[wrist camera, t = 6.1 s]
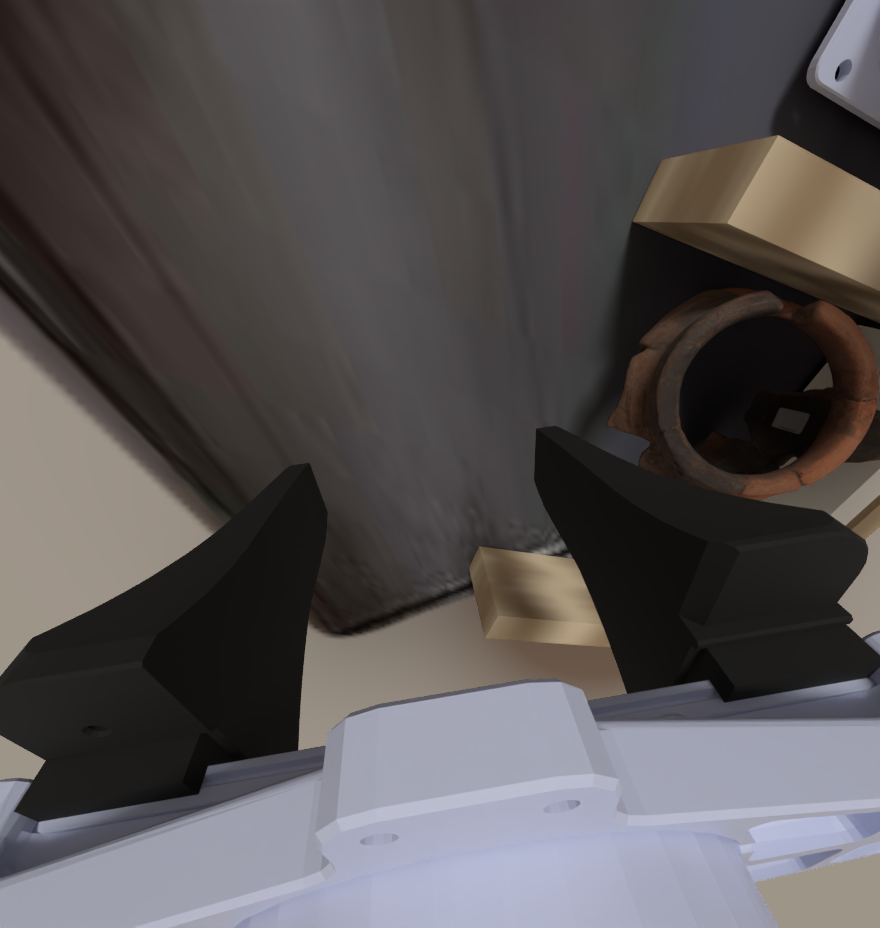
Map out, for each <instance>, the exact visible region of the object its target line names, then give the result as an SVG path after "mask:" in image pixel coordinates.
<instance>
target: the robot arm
mask: <svg viewBox="0 0 880 928" xmlns="http://www.w3.org/2000/svg"><path fill="white" fill-rule="evenodd" d="M838 66H839V67H840V71H839V75H838V77H837V79H836V80H835V72H836V70H837V67H838ZM806 78H807V84H808V85H809V86H810V88H812V89H814V90H815V91H817V92H819V93H820V94H822V95H824V96H825V97H827V98H829V99H830V100H832V101H834V102H835V103H837V104H838V105H840V106H842V107H843V108H845V109H847V110H848V111H850V112H852V113H853V114H855V115H857V116H858V117H860V118H862V119H863V120H865V121H867V122H868V123H870V124H872V125H873V126H875V127H877V128H878V129H880V0H846V1H845V3H844V5H843V7H842V8H841V10H840V12H839V14H838V15H837V17H836V19H835V21H834V22H833V24H832V26H831V28H830V29H829V31H828V33H827V35H826V36H825V38H824V40H823V42H822V43H821V45H820V47H819V49H818V50H817V52H816V54H815V56H814V57H813V59H812V61H811V63H810V65H809V68H808V71H807V76H806ZM534 481H535V484H536V487H537V489H538V492H539V495H540V497H541V500H542V502H543V505H544V507H545V509H546V511H547V512H548V514H549V516H550V518H551V520H552V521H553V523H554V525H555V527H556V529H557V530H558V532H559V534H560V536H561V537H562V539H563V541H564V543H565V544H566V546H567V548H568V550H569V552H570V553H571V555H572V557H573V559H574V560H575V562H576V564H577V566H578V568H579V570H580V572H581V575H582V577H583V579H584V582H585V584H586V586H587V589H588V591H589V593H590V596H591V598H592V600H593V603H594V605H595V608H596V610H597V613H598V615H599V618H600V620H601V623H602V625H603V628H604V630H605V633H606V636H607V639H608V641H609V644H610V647H611V649H612V652H613V654H614V657H615V660H616V663H617V665H618V668H619V671H620V674H621V677H622V680H623V683H624V685H625V689H626V691H627V694H623V695H619V696H612V697H606V698H600V699H594V700H589V701H587V700H586V697H585V695H584V693H583V690H582V689H580V688H578V687H576V686H574V685H571V684H568V683H565V682H563V681H560V680H557V679H555V678H554V679H553V678H552V679H525V680H519V681H513V682H507V683H501V684H496V685H490V686H484V687H478V688H472V689H466V690H461V691H454V692H448V693H443V694H436V695H430V696H425V697H419V698H413V699H407V700H401V701H395V702H389V703H383V704H378V705H375V706H372V707H369V708H366V709H362V710H360V711H356V712H353V713H350V714H349V715H348V716H347V717H346V718H344V719H343V720H342V721H341V722H340V723H338V724H337V725H336V726H335V727H334V728H333V729H332V730H331V731H329V732H328V734H327V740H326V746H321V747H315V748H310V749H304V750H298V741H299V718H300V702H301V688H302V687H301V686H302V675H303V664H304V653H305V644H306V635H307V627H308V618H309V612H310V607H311V601H312V597H313V593H314V588H315V584H316V580H317V575H318V571H319V567H320V563H321V558H322V554H323V549H324V545H325V540H326V529H327V514H328V512H327V509H326V507H325V504H324V501H323V499H322V496H321V493H320V490H319V488H318V485H317V482H316V479H315V477H314V474H313V471H312V469H311V466H310V463H305V464H298V465H292V466H289V467H288V468H287V469H285V470H284V471H283V472H282V473H281V474H280V475H279V476H278V477H277V478H276V479H274V480H273V481H272V482H271V483H270V484H269V485H268V486H267V487H266V488H265V489H264V490H263V491H262V492H261V493H260V494H259V495H258V496H257V497H256V498H255V499H254V500H252V501H251V502H250V503H249V504H248V505H247V506H246V507H245V508H244V509H243V510H241V511H240V512H239V513H238V514H237V515H236V516H234V517H233V518H232V519H231V520H230V521H229V522H228V523H226V524H225V525H224V526H223V527H222V528H221V529H219V530H218V531H217V532H216V533H214V534H213V535H212V536H210V537H209V538H208V539H207V540H205V541H204V542H202V543H201V544H200V545H198V546H197V547H196V548H194V549H193V550H192V551H190V552H189V553H187V554H186V555H184V556H183V557H181V558H180V559H178V560H177V561H175V562H173V563H172V564H170V565H169V566H167V567H166V568H164V569H163V570H161V571H159V572H158V573H156V574H155V575H153V576H152V577H150V578H149V579H147V580H145V581H143V582H141V583H140V584H138V585H136V586H135V587H133V588H131V589H129V590H127V591H126V592H124V593H122V594H120V595H118V596H117V597H115V598H113V599H111V600H109V601H107V602H105V603H103V604H102V605H100V606H98V607H96V608H94V609H92V610H90V611H88V612H86V613H84V614H82V615H79V616H77V617H75V618H73V619H71V620H69V621H67V622H65V623H63V624H61V625H59V626H57V627H55V628H52V629H51V630H49V631H46V632H44V633H42V634H40V635H38V636H35V637H33V638H32V639H31V640H30V641H29V642H28V644H27V645H26V646H25V647H24V649H23V650H22V651H21V652H20V653H19V654H18V656H17V657H16V658H15V659H14V661H13V662H12V663H11V664H10V665H9V666H8V668H7V669H6V670H5V671H4V673H3V674H2V675H1V676H0V735H1V736H3V737H5V738H6V739H8V740H10V741H12V742H14V743H15V744H17V745H19V746H21V747H23V748H24V749H26V750H28V751H30V752H32V753H34V754H35V755H37V756H39V757H41V758H43V759H44V760H46V761H45V763H44V764H43V766H42V768H41V769H40V771H39V772H38V774H37V775H36V777H35V779H34V780H31V779H24V778H11V779H4V780H0V928H779V927H778V925H777V923H776V921H775V919H774V918H773V916H772V914H771V912H770V910H769V908H768V906H767V905H766V903H765V901H764V900H763V897H762V896H761V894H760V892H759V890H758V888H757V886H756V884H755V883H756V882H760V881H764V880H769V879H773V878H777V877H782V876H786V875H790V874H794V873H799V872H802V871H807V870H811V869H816V868H820V867H824V866H828V865H832V864H837V863H841V862H845V861H850V860H854V859H858V858H863V857H867V856H871V855H876V854H880V631H876V632H873V633H871V634H869V635H867V636H865V637H863V638H860V637H859V636H858V635H857V634H856V633H855V632H854V631H853V630H852V629H850V628H849V627H848V626H847V625H846V624H850V623H851V622H852V620H853V618H852V615H851V614H850V613H849V612H847V611H846V610H845V609H844V608H843V607H842V606H841V605H839V604H838V603H837V602H838V601H839V599H840V598H841V597H842V596H843V594H844V593H845V592H846V590H847V589H848V588H849V586H850V585H851V584H852V583H853V581H854V580H855V579H856V577H857V576H858V575H859V573H860V572H861V570H862V568H863V567H864V565H865V563H866V560H867V555H868V547H867V544H866V541H865V539H863V538H862V537H860V536H859V535H858V534H856V533H855V532H853V531H852V530H851V529H849V528H848V527H846V526H845V525H843V524H842V523H841V522H839V521H838V520H836V519H835V518H834V517H832V516H831V515H829V514H828V513H826V512H825V511H822V510H816V509H809V508H803V507H796V506H789V505H783V504H776V503H770V502H764V501H759V500H754V499H749V498H744V497H739V496H734V495H730V494H725V493H721V492H717V491H713V490H709V489H705V488H702V487H698V486H695V485H691V484H687V483H684V482H681V481H678V480H674V479H671V478H668V477H666V476H663V475H660V474H657V473H654V472H652V471H649V470H646V469H644V468H641V467H639V466H636V465H634V464H632V463H629V462H627V461H625V460H623V459H620V458H618V457H616V456H614V455H612V454H610V453H608V452H606V451H604V450H602V449H600V448H598V447H596V446H594V445H592V444H590V443H588V442H586V441H584V440H582V439H581V438H579V437H577V436H575V435H573V434H571V433H569V432H567V431H565V430H563V429H561V428H559V427H557V426H551V427H544V428H538V429H536V447H535V474H534Z"/></svg>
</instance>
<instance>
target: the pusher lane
mask: <svg viewBox="0 0 880 928" xmlns="http://www.w3.org/2000/svg"><path fill="white" fill-rule="evenodd" d="M633 222H634V223H637V224H639V225H642V226H644V227H646V228H649V229H651V230H654V231H656V232H659V233H661V234H663V235H666V236H668V237H671V238H673V239H676V240H678V241H680V242H683V243H685V244H688V245H690V246H693V247H695V248H697V249H700V250H702V251H705V252H707V253H710V254H712V255H714V256H717V257H719V258H722V259H724V260H727V261H729V262H732V263H734V264H736V265H739V266H741V267H744V268H746V269H749V270H751V271H753V272H756V273H758V274H761V275H763V276H766V277H768V278H770V279H773V280H775V281H778V282H780V283H783V284H785V285H787V286H790V287H792V288H795V289H797V290H800V291H802V292H804V293H807V294H809V295H812V296H814V297H817V298H819V299H821V300H824V301H826V302H829V303H831V304H834V305H836V306H838V307H841V308H843V309H846V310H848V311H851V312H853V313H855V314H858V315H860V316H863V317H865V318H868V319H870V320H873V321H875V322H877V323H880V190H878V189H877V188H875V187H873V186H871V185H869V184H867V183H866V182H864V181H862V180H860V179H858V178H856V177H855V176H853V175H851V174H849V173H847V172H845V171H844V170H842V169H840V168H838V167H836V166H834V165H832V164H831V163H829V162H827V161H825V160H823V159H821V158H820V157H818V156H816V155H814V154H812V153H810V152H809V151H807V150H805V149H803V148H801V147H799V146H798V145H796V144H794V143H792V142H790V141H788V140H786V139H785V138H783V137H781V136H779V135H777V136H772V137H767V138H763V139H758V140H753V141H748V142H744V143H739V144H734V145H730V146H725V147H720V148H715V149H711V150H706V151H701V152H696V153H692V154H687V155H682V156H678V157H673V158H668V159H663V160H661V162H660V164H659V167H658V169H657V171H656V173H655V175H654V177H653V179H652V181H651V183H650V186H649V188H648V190H647V192H646V194H645V196H644V198H643V200H642V203H641V205H640V207H639V209H638V211H637V213H636V215H635V217H634V219H633ZM846 527H848V528H849V529H851V530H852V531H853V532H855V533H856V534H858V535H859V536H860V537H862V538H863V539H866V538H867V537H868V536H869V535H871V534H872V533H873V532H874V531H875V530H877V528H879V527H880V495H879V496H878V497H877V498H875V499H874V500H873V501H872V502H871V503H870V504H869V505H868V506H867V507H866V508H864V509H863V510H862V511H861V512H860V513H859V514H858V515H857V516H856V517H854V518H853V519H852V520H851V521H850V522H849V523H848V524H847V525H846ZM469 571H470V575H471V579H472V584H473V588H474V592H475V597H476V601H477V605H478V610H479V614H480V618H481V623H482V627H483V632H484V636H485V638H489V639H502V640H516V641H531V642H544V643H558V644H572V645H586V646H600V647H610V644H609V641H608V639H607V636H606V633H605V630H604V628H603V625H602V623H601V620H600V618H599V615H598V613H597V610H596V608H595V605H594V603H593V600H592V598H591V596H590V593H589V591H588V589H587V586H586V584H585V582H584V579H583V577H582V575H581V572H580V570H579V568H578V566H577V564H576V562H575V560H574V559H569V558H562V557H555V556H547V555H540V554H533V553H525V552H518V551H511V550H503V549H496V548H489V547H481V546H479V547H478V550H477V552H476V554H475V556H474V558H473V560H472V562H471V564H470V566H469Z"/></svg>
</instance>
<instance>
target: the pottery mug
mask: <svg viewBox="0 0 880 928" xmlns="http://www.w3.org/2000/svg"><path fill="white" fill-rule="evenodd" d="M767 316H774V317H778V318H781V319H784V320H786V321H787V322H789V323H791V324H792V325H794V326H796V327H798V328H799V329H801V330H802V331H804V332H805V333H806V334H807V335H808V336H810V337H811V338H812V339H813V340H814V341H815V342H816V344H817V345H818V346H819V347H820V349H821V350H822V352H823V354H824V356H825V358H826V360H827V363H828V365H829V368H830V371H831V374H832V380H833V387H827V388H825V389H811V390H807V391H803V392H788V391H783V390H779V391H776V392H772V391H766V390H762V391H760V392H758V393H757V394H756V396H755V397H754V400H753V403H752V405H751V407H750V408H749V410H748V411H747V412H746V414H745V415H744V420H745V422H746V423H747V425H748V431H749V434H750V436H751V439H752V442H746V441H743V440H740V439H737V438H727V437H725V436H723V435H721V434H718V433H711V434H710V435H709V437H708V438H707V439H706V441H705V443H704V444H703V445H702V447H700V448H699V450H698V451H697V452H696V451H695V450H694V449H693V447H692V446H691V444H690V443H689V441H688V440H687V438H686V436H685V434H684V432H683V431H682V429H681V426H680V425H681V422H680V416H679V396H680V389H681V384H682V381H683V377H684V374H685V372H686V370H687V368H688V366H689V365H690V363H691V361H692V359H693V358H694V357H695V355H696V354H697V353H698V351H699V350H700V349H701V348H702V347H703V346H704V345H705V344H706V343H707V342H708V341H709V340H710V339H711V338H712V337H714V336H715V335H716V334H718V333H719V332H721V331H722V330H724V329H725V328H727V327H729V326H731V325H733V324H736V323H738V322H741V321H744V320H748V319H754V318H761V317H767ZM639 348H640V350H641V353H639V354H637V355H635V356H634V357H632V358H631V360H630V362H629V365H628V369H627V372H626V378H625V384H624V388H623V392H622V395H621V398H620V400H619V403H618V404H617V407H616V409H615V410H614V411H613V412H612V413H611V415H610V416H609V418H608V421H607V423H606V426H607V427H613V428H616V429H618V430H621V431H624V432H626V433H630V434H633V435H636V436H639V437H642V438H644V439H646V440H648V441H649V442H650V446H649V447H648V448H647V449H646V450H645V451H644V452H642V454H641V456H640V460H639V467H641V468H644V469H646V470H649V471H652V472H654V473H657V474H660V475H663V476H666V477H668V478H671V479H674V480H678V481H681V482H684V483H687V484H691V485H695V486H698V487H702V488H705V489H709V490H713V491H717V492H721V493H725V494H730V495H734V496H739V497H744V498H749V499H754V500H759V501H760V500H763V499H766V498H769V497H771V496H774V495H778V494H783V493H787V492H791V491H794V490H797V489H799V488H800V487H801V486H806V485H810V484H813V483H815V482H817V481H819V480H820V479H822V478H823V477H825V476H826V475H828V474H829V473H831V472H833V471H834V470H835V469H836V468H838V467H839V466H840V465H841V464H842V463H862V462H867V461H875V460H880V410H876V407H877V404H878V398H877V397H878V392H879V384H878V380H879V376H878V370H877V366H876V360H875V357H874V353H873V351H872V348H871V345H870V343H869V341H868V340H867V339H866V338H865V336H864V335H863V333H862V330H861V329H860V328H859V327H858V326H857V325H856V323H855V322H854V321H853V320H852V318H851V317H850V316H848V315H847V314H845V313H844V312H843V311H841V310H840V309H839V308H837V307H835V306H833V305H832V304H830V303H828V302H825V301H822V300H821V301H817V302H814V303H812V304H809V305H807V306H805V307H801V306H800V305H797V304H795V303H793V302H791V301H787V300H783V299H781V298H780V297H778V296H775V295H774V294H772V293H771V292H770V291H767V290H764V291H760V290H754V289H747V288H724V289H721V290H717V289H709V290H704V291H702V292H701V293H699V294H697V295H695V296H693V297H691V298H689V299H688V300H686V301H685V302H683V303H682V304H680V305H679V306H677V307H676V308H674V309H673V310H671V311H670V312H669V313H668V314H666V315H665V316H664V317H663V318H662V319H660V320H659V321H658V322H657V323H656V324H655V326H654V327H653V328H651V329H650V331H649V332H647V333H646V334H645V335H644V336H643V337H642V339H641V340H640V342H639ZM793 457H796V458H797V460H795V461H794V462H792V463H791V464H789V465H787V466H785V467H783V468H781V469H780V468H779V467H780V466H783V465H784V464H785V463H786V462H788V461H789V460H790V459H791V458H793Z"/></svg>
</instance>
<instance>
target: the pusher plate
mask: <svg viewBox="0 0 880 928" xmlns="http://www.w3.org/2000/svg"><path fill="white" fill-rule="evenodd" d="M858 327H859V328H860V329H861V330H862V333H863V335H864V336H865V338H866V339H867V340H868V341H869V343H870V345H871V348H872V351H873V353H874V357H875V360H876V366H877V370H878V376H879V380H878V384H879V392H878V397H877V398H878V404H877V407H876V410H880V330H879V329H875V328H871V327H866V326H862V325H858ZM827 387H833V380H832V374H831V371H830V368H829V365H828V363H826V364H825V366H824V367H823V368H822V369H821V370H820V372H819V373H818V374H817V375H816V376H815V378H814V379H813V380H812V381H811V382H810V384H809V385H808V386H807V387H806V388H805V390H804V391H807V390H811V389H825V388H827ZM795 460H797V458H796V457H793V458H791V459H790V460H789V461H788V462H786V463H785V464H784V465H783V466H780V467H779V468H780V469H781V468H783V467H785V466H787V465H789V464H791V463H792V462H794V461H795ZM879 495H880V460H875V461H867V462H862V463H842V464H841V465H840V466H839V467H838V468H836V469H835V470H834V471H833V472H831V473H829V474H828V475H826V476H825V477H823V478H822V479H820V480H819V481H817V482H815V483H813V484H810V485H806V486H801V487H800V488H799V489H797V490H794V491H791V492H787V493H783V494H778V495H774V496H771V497H769V498H766V499H763V500H760V501H764V502H770V503H776V504H783V505H789V506H796V507H803V508H809V509H816V510H822V511H825V512H826V513H828V514H829V515H831V516H832V517H834V518H835V519H836V520H838V521H839V522H841V523H842V524H843V525H845V526H846V525H847V524H848V523H849V522H850V521H851V520H852V519H853V518H854V517H856V516H857V515H858V514H859V513H860V512H861V511H862V510H863V509H864V508H866V507H867V506H868V505H869V504H870V503H871V502H872V501H873V500H874V499H875V498H877V497H878V496H879Z"/></svg>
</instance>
